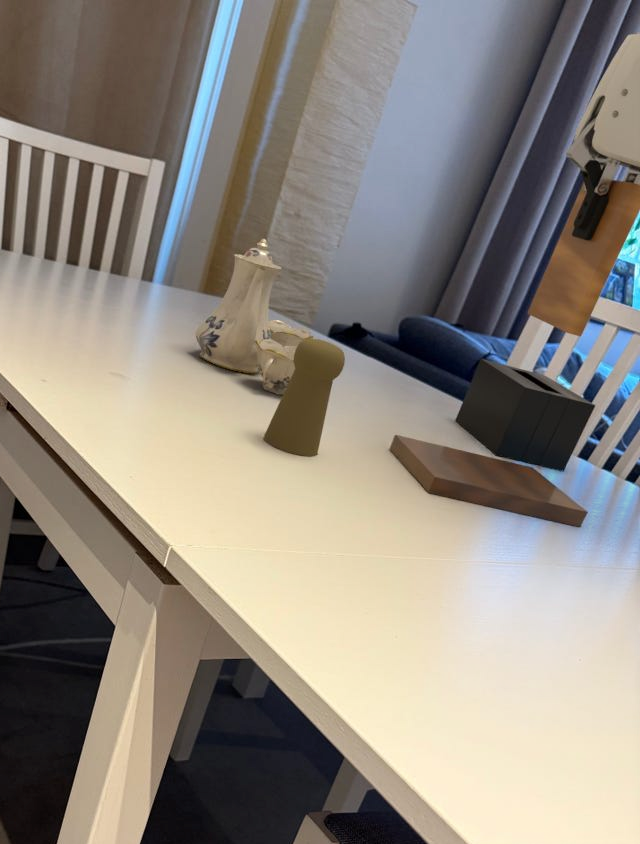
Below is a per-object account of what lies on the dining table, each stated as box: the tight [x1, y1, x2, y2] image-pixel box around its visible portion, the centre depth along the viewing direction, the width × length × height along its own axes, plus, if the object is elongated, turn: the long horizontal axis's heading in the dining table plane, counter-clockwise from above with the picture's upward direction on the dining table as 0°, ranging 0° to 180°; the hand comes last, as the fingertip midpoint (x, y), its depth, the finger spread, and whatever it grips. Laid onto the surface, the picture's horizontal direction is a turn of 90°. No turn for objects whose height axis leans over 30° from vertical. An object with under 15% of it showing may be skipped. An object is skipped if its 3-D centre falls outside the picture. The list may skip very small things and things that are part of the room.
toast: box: [526, 179, 640, 337], centre depth 94 cm, size 2×10×14 cm, turn 4°
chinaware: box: [195, 238, 314, 396], centre depth 124 cm, size 28×17×17 cm, turn 179°
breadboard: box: [389, 434, 589, 528], centre depth 104 cm, size 18×14×2 cm
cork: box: [263, 338, 346, 457], centre depth 96 cm, size 6×6×11 cm
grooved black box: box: [454, 358, 596, 472], centre depth 125 cm, size 11×15×9 cm
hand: (590, 240), depth 94 cm, fingers closed on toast, 1 cm apart
